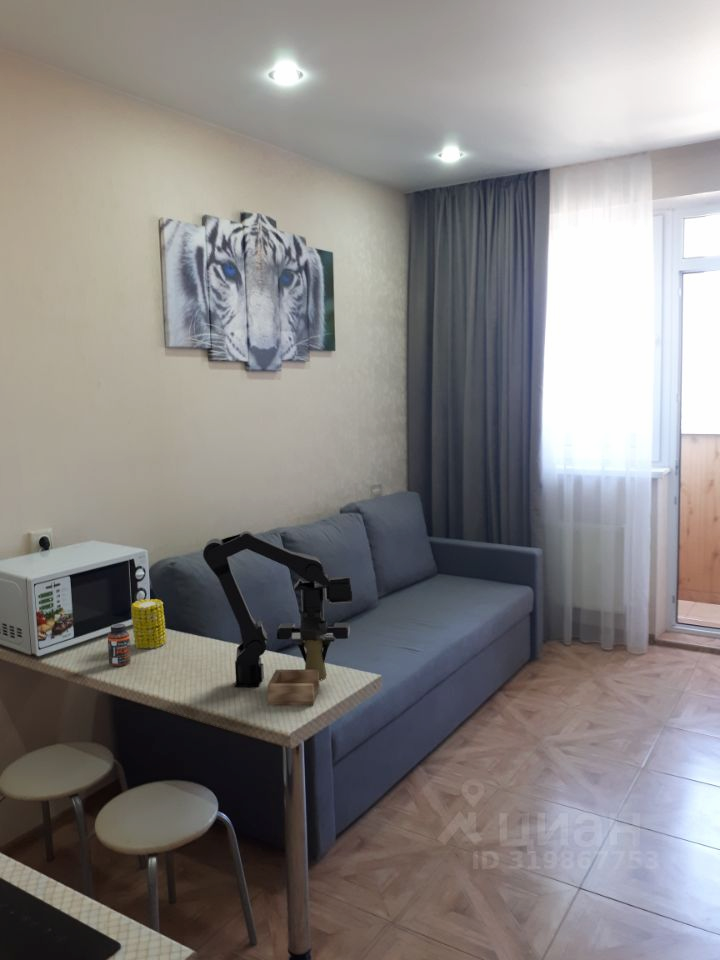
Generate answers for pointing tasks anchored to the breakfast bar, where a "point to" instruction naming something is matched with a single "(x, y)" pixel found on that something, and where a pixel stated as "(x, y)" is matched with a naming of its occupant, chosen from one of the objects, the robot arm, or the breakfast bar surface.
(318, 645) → the cork
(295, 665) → the breakfast bar surface
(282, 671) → the wooden box
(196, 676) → the breakfast bar surface
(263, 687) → the breakfast bar surface
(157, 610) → the food
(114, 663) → the supplement bottle
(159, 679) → the breakfast bar surface
